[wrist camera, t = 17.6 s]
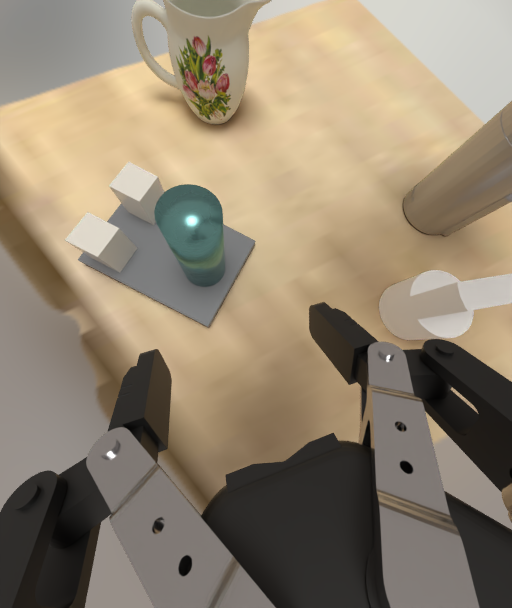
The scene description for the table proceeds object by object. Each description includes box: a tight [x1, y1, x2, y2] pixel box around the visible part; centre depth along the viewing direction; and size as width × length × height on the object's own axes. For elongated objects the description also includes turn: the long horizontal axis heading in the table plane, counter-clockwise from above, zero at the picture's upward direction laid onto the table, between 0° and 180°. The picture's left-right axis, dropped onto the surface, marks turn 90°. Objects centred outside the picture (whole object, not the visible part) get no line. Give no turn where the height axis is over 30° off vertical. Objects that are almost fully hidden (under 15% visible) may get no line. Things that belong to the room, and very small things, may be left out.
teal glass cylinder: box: [154, 185, 225, 287], centre depth 24 cm, size 6×6×12 cm
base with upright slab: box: [379, 270, 512, 340], centre depth 28 cm, size 9×9×12 cm
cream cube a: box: [65, 212, 137, 273], centre depth 27 cm, size 4×4×5 cm
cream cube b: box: [109, 162, 165, 225], centre depth 29 cm, size 4×4×5 cm
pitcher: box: [131, 0, 271, 124], centre depth 31 cm, size 11×18×14 cm, turn 86°
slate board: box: [78, 203, 255, 327], centre depth 31 cm, size 19×14×2 cm
